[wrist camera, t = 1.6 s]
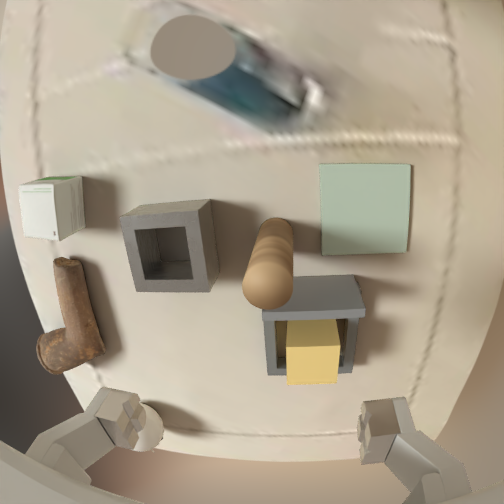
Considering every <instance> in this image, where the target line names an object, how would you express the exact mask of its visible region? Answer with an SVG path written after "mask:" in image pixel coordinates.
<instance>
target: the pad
mask: <svg viewBox="0 0 504 504" xmlns="http://www.w3.org/2000/svg"><path fill="white" fill-rule="evenodd" d="M319 167H320V192H321V233H322V255H349V254H376V253H403V252H406V250H407V238H408V225H409V207H410V164H383V163H339V164H319Z"/></svg>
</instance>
